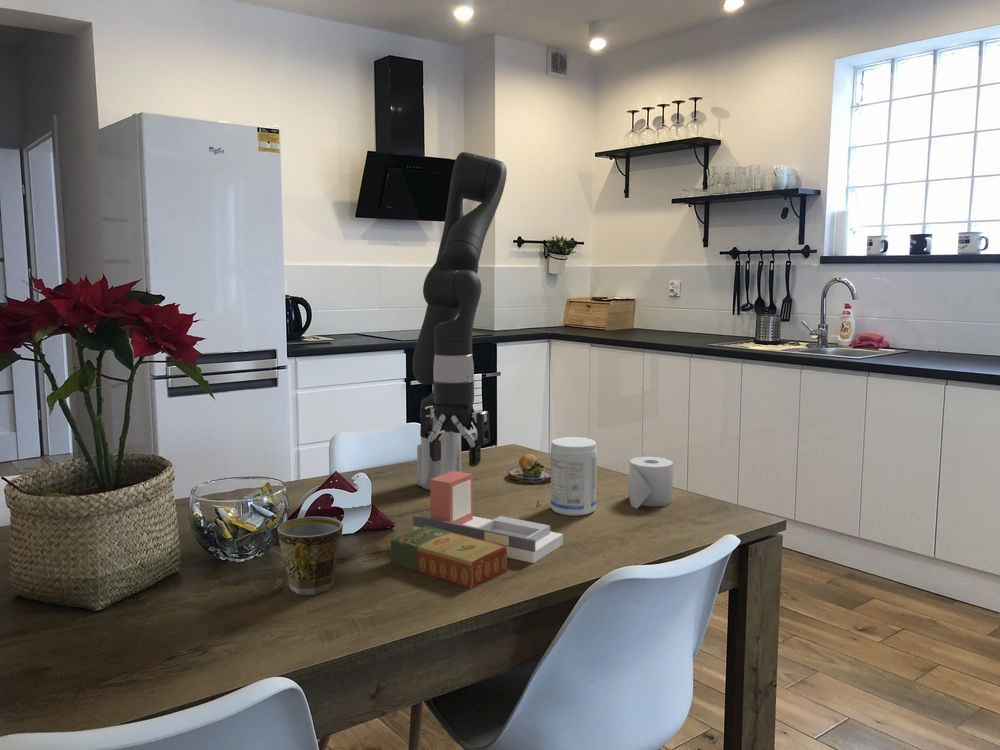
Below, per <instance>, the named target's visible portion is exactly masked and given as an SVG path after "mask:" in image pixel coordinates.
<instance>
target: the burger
mask: <svg viewBox="0 0 1000 750" xmlns="http://www.w3.org/2000/svg"><path fill="white" fill-rule="evenodd" d="M521 452H522V454H523V455H522V456H521V457H520V458H519V460H518V465H519V466H516V467H513V468H509V470H508V471H507V478H508V480H509V481H511V482H514V483H517V484H524V485H541V483H543V484H549V483H551V467H545V465H543V464H542V463H540V462H538V461H537V459H536V456H535V455H533V454H531V453H528V454H527V453H526V454H524V452H523V450H521ZM543 484H542V485H543Z"/></svg>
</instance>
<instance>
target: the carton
mask: <svg viewBox="0 0 1000 750" xmlns="http://www.w3.org/2000/svg"><path fill="white" fill-rule="evenodd" d="M390 560H391V564H395V565H398V566H401V567H404V568H407V569H411V570H413V571H417V572H419V573H423V574H425V575H429V576H433V577H436V578H438V579H441V580H445V581H447V582H452V583H454V584H456V585H461V586H464V587H466V588H470V589H473V588H475V587H477V586H479V585H481V584H483V583H485V582H488V581H489V580H491V579H493V578H495V577H497V576H499V575H501V574H504V573H506V572H507V568H508V567H507V565H508V564H507V563H508V557H507V549H506V546H504V545H500V544H496V543H492V542H488V541H484V540H480V539H476V538H472V537H469V536H465V535H461V534H457V533H453V532H449V531H445V530H441V529H438V528H434V527H430V526H424V527H422V528H419V529H417V530H414V531H413V530H411V531H409V532H406V533H404V534H402V535H399V536H397V537H393V538H391V540H390Z"/></svg>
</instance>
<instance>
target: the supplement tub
mask: <svg viewBox="0 0 1000 750" xmlns="http://www.w3.org/2000/svg"><path fill="white" fill-rule="evenodd" d="M597 450H598V449H597V442H596V441H595V440H594V439H592V438H589V437H580V436H564V437H558V438H554V439H553V440H552V441H551V447H550V468H551V479H550V508H551V509H552V510H553V511H554V512H555V513H557V514H559V515H563V516H575V517H576V516H577V517H579V516H585V515H589V514H591V513H592V512H594V511H595V510H596V509H597V465H598V463H597V459H598V457H597Z"/></svg>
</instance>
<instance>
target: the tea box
mask: <svg viewBox="0 0 1000 750" xmlns="http://www.w3.org/2000/svg"><path fill="white" fill-rule="evenodd" d="M473 476H474V475H473V473H469V472H462V471H461V472H457V471H452V472H449V473H446V474H444V475H441V476H438V477H435V478H433V479H430V490H429V492H430V493H429V494H430V495H429V496H430V498H429V499H430V518H433V519H438V520H443V521H447V522H452V523H457V524H464V523H466V522H468V521H470V520H472V519H473V515H474V514H473V511H474V509H473V507H474V506H473V497H474V496H473V494H474V493H473V491H474V490H473V485H474V483H473V482H474V481H473V480H474V479H473V478H474V477H473Z"/></svg>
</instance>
